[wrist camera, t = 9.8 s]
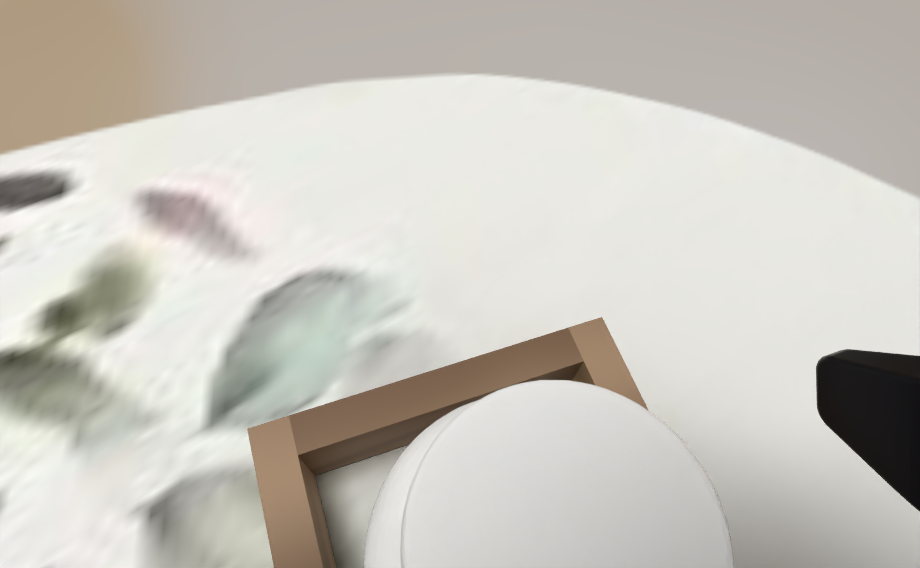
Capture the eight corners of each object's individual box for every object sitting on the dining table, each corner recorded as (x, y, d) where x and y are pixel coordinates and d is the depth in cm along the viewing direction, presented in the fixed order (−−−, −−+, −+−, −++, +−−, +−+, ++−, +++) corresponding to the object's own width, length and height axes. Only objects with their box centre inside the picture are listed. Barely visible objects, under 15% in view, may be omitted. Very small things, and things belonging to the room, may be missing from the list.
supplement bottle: (574, 459, 17) (713, 308, 9) (622, 685, 15) (884, 782, 6) (381, 483, 17) (330, 346, 8) (397, 722, 14) (348, 882, 6)
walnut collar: (746, 703, 15) (802, 719, 13) (360, 885, 13) (346, 942, 11) (581, 351, 19) (601, 316, 17) (270, 452, 17) (247, 428, 15)
